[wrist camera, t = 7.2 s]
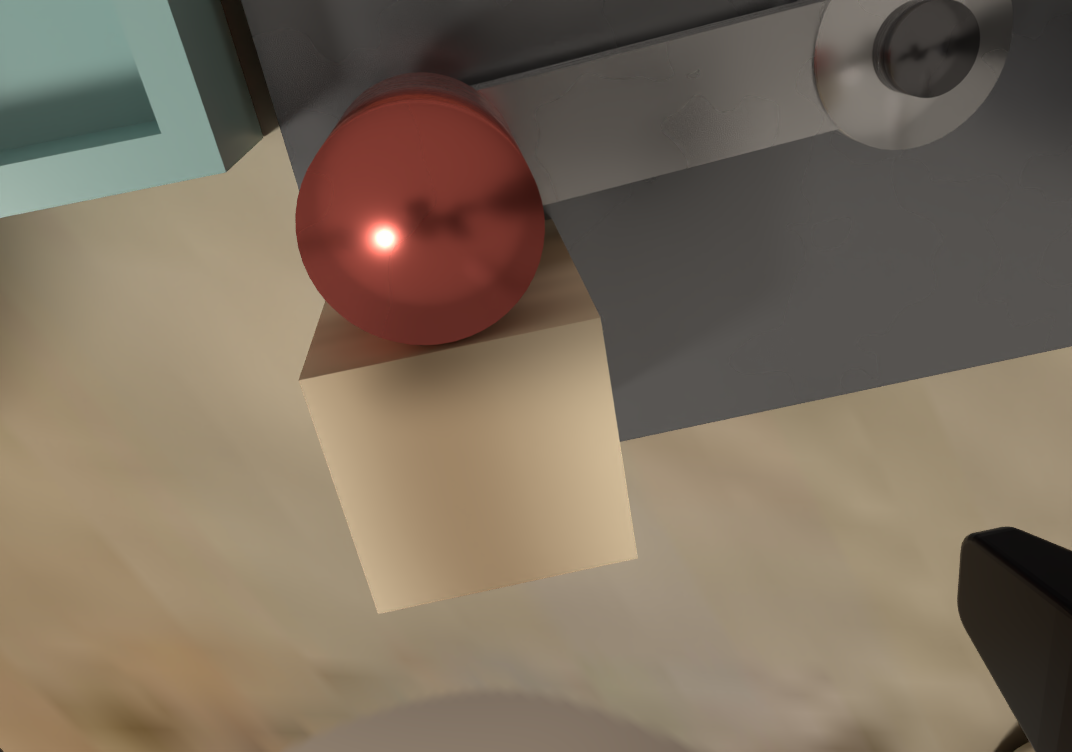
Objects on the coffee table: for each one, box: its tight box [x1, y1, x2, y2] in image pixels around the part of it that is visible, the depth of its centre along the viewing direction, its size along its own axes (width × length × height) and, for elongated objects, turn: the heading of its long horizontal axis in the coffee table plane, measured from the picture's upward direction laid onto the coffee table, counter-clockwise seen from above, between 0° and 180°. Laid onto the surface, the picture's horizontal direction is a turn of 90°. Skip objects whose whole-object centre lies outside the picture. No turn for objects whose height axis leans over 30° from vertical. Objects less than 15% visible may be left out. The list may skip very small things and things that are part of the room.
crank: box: [296, 0, 1013, 345], centre depth 12 cm, size 11×3×5 cm, turn 103°
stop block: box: [299, 219, 638, 614], centre depth 14 cm, size 4×4×5 cm
